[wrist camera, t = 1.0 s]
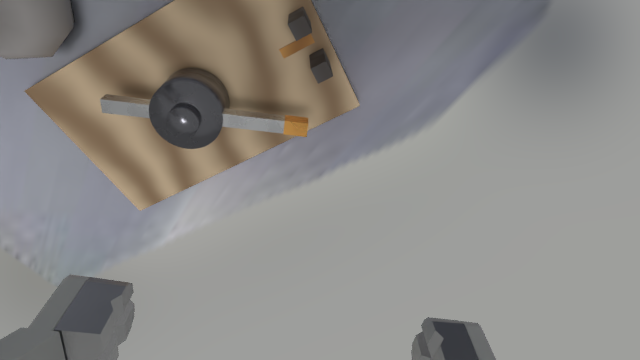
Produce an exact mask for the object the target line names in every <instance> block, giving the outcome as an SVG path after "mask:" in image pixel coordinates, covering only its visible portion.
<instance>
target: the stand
mask: <svg viewBox="0 0 640 360" xmlns="http://www.w3.org/2000/svg"><path fill="white" fill-rule="evenodd" d="M189 67H194V68H201V69H204V70H206V71H209V72H210V73H212V74H214V75H215V76H216V77H217V78H218V79H220V80H221V82H222V83H223V84H224V86H225V87H226V90H227V92H228V95H229V100H230V105H229V109H234V110H243V111H251V112H259V113H268V114H276V115H284V116H285V115H290V116H298V117H306V118H308V130H310V129H312V128H314V127H317V126H319V125H321V124H323V123H325V122H327V121H329V120H331V119H333V118H335V117H337V116H340V115H342V114H344V113H346V112H348V111H350V110H352V109H354V108H356V107H358V106H360V104H359V102H358V99H357V97H356V95H355V93H354V91H353V89H352V87H351V84H350V82H349V80H348V78H347V76H346V74H345V72H344V69H343V67H342V65H341V63H340V61H339V59H338V57H337V54H336V52H335V50H334V48H333V46H332V44H331V42H330V39H329V37H328V35H327V33H326V31H325V29H324V27H323V24H322V22H321V20H320V18H319V16H318V14H317V12H316V9H315V7H314V5H313V3H312V1H311V0H174V1H173V2H171V3H169V4H168V5H166V6H164V7H163V8H161V9H159V10H158V11H156V12H154V13H153V14H151V15H149V16H148V17H146V18H144V19H143V20H141V21H140V22H138V23H136V24H135V25H133V26H131V27H130V28H128V29H126V30H125V31H123V32H121V33H120V34H118V35H116V36H115V37H113V38H111V39H110V40H108V41H106V42H105V43H103V44H101V45H100V46H98V47H96V48H95V49H93V50H91V51H90V52H88V53H86V54H85V55H83V56H82V57H80V58H78V59H77V60H75V61H73V62H72V63H70V64H68V65H67V66H65V67H63V68H62V69H60V70H58V71H57V72H55V73H53V74H52V75H50V76H48V77H47V78H45V79H43V80H42V81H40V82H38V83H37V84H35V85H33V86H32V87H30V88H29V89H27V90H25V92H26V93H27V94H28V95H29V96H30V97H31V98H32V99H33V101H34V102H35V103H36V104H37V105H38V106H39V107H40V108H41V109H42V110H43V111H44V112H45V113H46V114H47V115H48V116H49V117H50V118H51V119H52V120H53V121H54V122H55V123H56V124H57V125H58V126H59V127H60V129H61V130H62V131H63V132H64V133H65V134H66V135H67V136H68V137H69V138H70V139H71V140H72V141H73V142H74V143H75V144H76V145H77V146H78V147H79V148H80V149H81V150H82V151H83V152H84V153H85V154H86V155H87V157H88V158H89V159H90V160H91V161H92V162H93V163H94V164H95V165H96V166H97V167H98V168H99V169H100V170H101V171H102V172H103V173H104V174H105V175H106V176H107V177H108V178H109V179H110V180H111V181H112V182H113V183H114V185H115V186H116V187H117V188H118V189H119V190H120V191H121V192H122V193H123V194H124V195H125V196H126V197H127V198H128V199H129V200H130V201H131V202H132V203H133V204H134V205H135V206H136V207H137V208H138V209H139V210H140V211H141V210H143V209H145V208H147V207H149V206H151V205H153V204H155V203H158V202H160V201H162V200H164V199H166V198H168V197H170V196H172V195H174V194H176V193H178V192H181V191H183V190H185V189H187V188H189V187H191V186H193V185H195V184H197V183H199V182H201V181H204V180H206V179H208V178H210V177H212V176H214V175H216V174H218V173H220V172H222V171H224V170H227V169H229V168H231V167H233V166H235V165H237V164H239V163H241V162H243V161H245V160H248V159H250V158H252V157H254V156H256V155H258V154H260V153H262V152H264V151H266V150H268V149H271V148H273V147H275V146H277V145H279V144H281V143H283V142H285V141H287V140H289V139H291V138H294V137H296V136H294V135H285V134H282V133H273V132H265V131H256V130H247V129H239V128H230V127H222V128H221V131H220V133H219V135H218V137H217V138H216V139H215V140H214V141H213V142H212V143H210V144H209V145H207V146H205V147H202V148H197V149H186V148H181V147H177V146H175V145H173V144H171V143H169V142H167V141H166V140H164V139H163V138H162V137H161V136H160V135H159V134H158V133H157V132H156V130H155V129H154V127H153V125H152V123H151V121H150V118H143V117H134V116H125V115H117V114H108V113H102V109H101V103H100V99H101V98H102V97H103V96H104V95H106V94H110V95H118V96H127V97H135V98H143V99H151V98H152V96H153V95H154V93H155V92H156V91H157V90H158V89H159V88H160V87H161V86H162V84H163V83H164V82H165V81H166V80H167V79H168V78H169V77H170V76H171V75H172V74H173V73H174V72H176V71H178V70H180V69H183V68H189ZM308 130H307V131H308Z"/></svg>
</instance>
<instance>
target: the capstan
mask: <svg viewBox="0 0 640 360" xmlns="http://www.w3.org/2000/svg"><path fill="white" fill-rule="evenodd" d="M100 103H101V109H102V113H108V114H117V115H125V116H134V117H143V118H150V121H151V123H152V125H153V127H154V129H155V130H156V132H157V133H158V134H159V135H160V136H161V137H162V138H163V139H164V140H166V141H167V142H169V143H171V144H173V145H175V146H177V147H181V148H186V149H197V148H202V147H205V146H207V145H209V144H210V143H212V142H213V141H214V140H215V139H216V138H217V137H218V135H219V133H220V131H221V128H222V127H230V128H239V129H247V130H256V131H265V132H273V133H282V134H285V135H294V136H303V137H307V130H308V118H306V117H298V116H290V115H285V116H284V115H276V114H268V113H259V112H251V111H243V110H234V109H229V105H230V100H229V95H228V92H227V90H226V87H225V86H224V84H223V83H222V82H221V80H220V79H218V78H217V77H216V76H215V75H214V74H212V73H210V72H209V71H206V70H204V69H201V68H194V67H189V68H183V69H180V70H178V71H176V72H174V73H173V74H172V75H171V76H170V77H169V78H168V79H167V80H166V81H165V82H164V83H163V84H162V86H161V87H160V88H159V89H158V90H157V91H156V92H155V93H154V95H153V96H152V98H151V99H143V98H135V97H127V96H118V95H110V94H106V95H104V96H103V97H102V98H101V99H100Z"/></svg>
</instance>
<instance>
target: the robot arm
mask: <svg viewBox="0 0 640 360" xmlns="http://www.w3.org/2000/svg"><path fill="white" fill-rule="evenodd" d="M132 294H133V285H132V283H128V282H121V281H114V280H107V279H100V278H93V277H85V276H77V275H69V276H67V277H66V278H65V279H63V281H62V282H61V283H60V285H59V286H58V288H57V289H56V290H55V292H54V293H53V294H52V296H51V297H50V299H49V300H48V301H47V303H46V304H45V305H44V307H43V308H42V309H41V311H40V312H39V313H38V315H37V316H36V318H35V319H34V320H33V322H32V323H31V325H30V326H29V327H28V328H20V329H18V330H16V331H15V332H13V333H11V334H9V335H8V336H6V337H4V338H2V339H1V340H0V360H117V358H118V345H119V344H121V343H122V342H124V341H125V340H126V338H127V336H128V334H129V332H130V329H131V325H132V322H133V318H134V303H133V302H132V301H131V300H130V298H131V296H132ZM421 326H422V330H423V332H421V333H419V334H418V335H416V337H415V339H414V341H413V344H412V360H496V358H495V356H494V354H493V352H492V350H491V348H490V345H489V343H488V341H487V339H486V337H485V334H484V332H483V330H482V328H481V326H480V325H479V324H478V323H472V322H463V321H457V320H448V319H438V318H429V317H428V318H426V319H425V320H424V321H423V323H422V325H421Z"/></svg>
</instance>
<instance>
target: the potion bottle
mask: <svg viewBox="0 0 640 360" xmlns="http://www.w3.org/2000/svg"><path fill="white" fill-rule="evenodd" d="M74 22H75V21H74V16H73V11H72V6H71V1H70V0H0V57H3V58H5V59H20V58H37V57H52V56H53V55H54V54H55V52H56V51H57V50H58V48H59V47H60V45H61V44H62V43H63V41H64V40H65V38H66V37H67V36H68V34H69V33H70V32H71V30H72V29H73V27H74V25H73V23H74Z"/></svg>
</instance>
